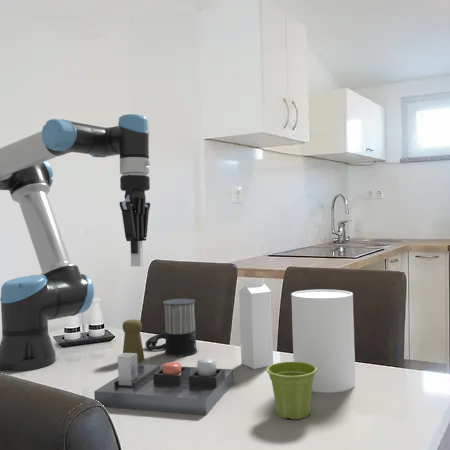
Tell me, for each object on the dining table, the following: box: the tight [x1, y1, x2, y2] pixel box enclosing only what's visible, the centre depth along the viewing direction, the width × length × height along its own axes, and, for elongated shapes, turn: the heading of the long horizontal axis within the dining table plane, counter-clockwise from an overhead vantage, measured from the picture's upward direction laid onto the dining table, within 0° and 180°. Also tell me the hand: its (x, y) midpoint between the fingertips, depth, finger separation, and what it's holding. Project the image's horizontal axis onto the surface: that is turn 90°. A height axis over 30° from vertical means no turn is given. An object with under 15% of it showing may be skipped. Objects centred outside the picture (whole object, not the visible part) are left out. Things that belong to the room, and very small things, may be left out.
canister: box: [290, 289, 356, 393], centre depth 113 cm, size 14×14×20 cm
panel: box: [93, 363, 235, 416], centre depth 109 cm, size 24×20×5 cm
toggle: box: [117, 352, 139, 386], centre depth 107 cm, size 3×3×6 cm
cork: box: [122, 319, 145, 364], centre depth 137 cm, size 6×6×11 cm
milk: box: [238, 277, 274, 370], centre depth 129 cm, size 6×6×22 cm
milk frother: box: [145, 298, 198, 357], centre depth 146 cm, size 14×16×15 cm
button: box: [162, 361, 182, 375], centre depth 109 cm, size 4×4×3 cm
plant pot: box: [266, 361, 317, 420], centre depth 95 cm, size 9×9×9 cm
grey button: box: [196, 357, 217, 377], centre depth 107 cm, size 4×4×3 cm
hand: (137, 266), depth 131 cm, fingers closed
